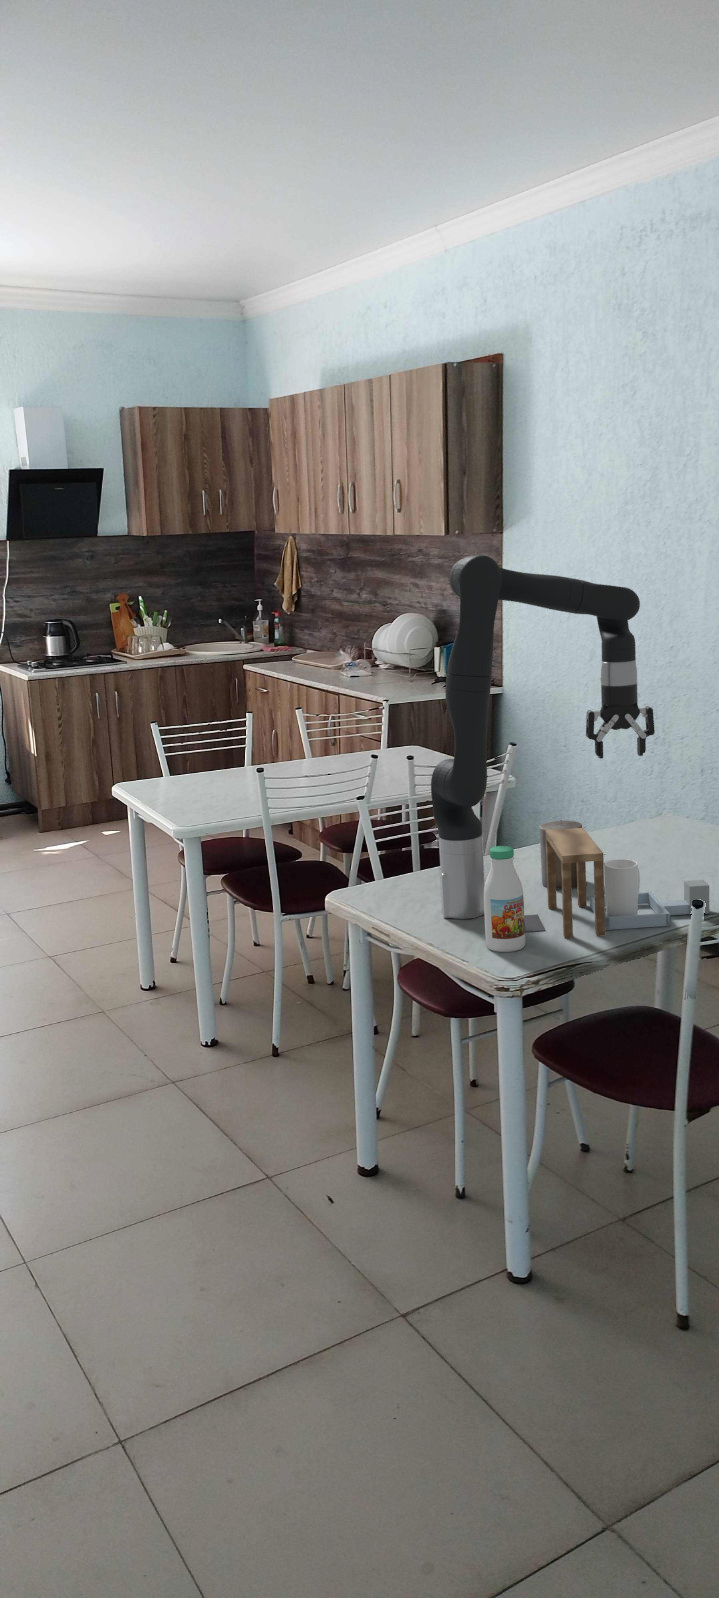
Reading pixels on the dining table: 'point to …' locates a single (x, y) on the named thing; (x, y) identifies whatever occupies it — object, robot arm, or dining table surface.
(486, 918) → the milk bottle
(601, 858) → the tunnel
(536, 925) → the gray flat slab
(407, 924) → the dining table surface
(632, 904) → the mug
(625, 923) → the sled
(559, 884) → the pillar candle
